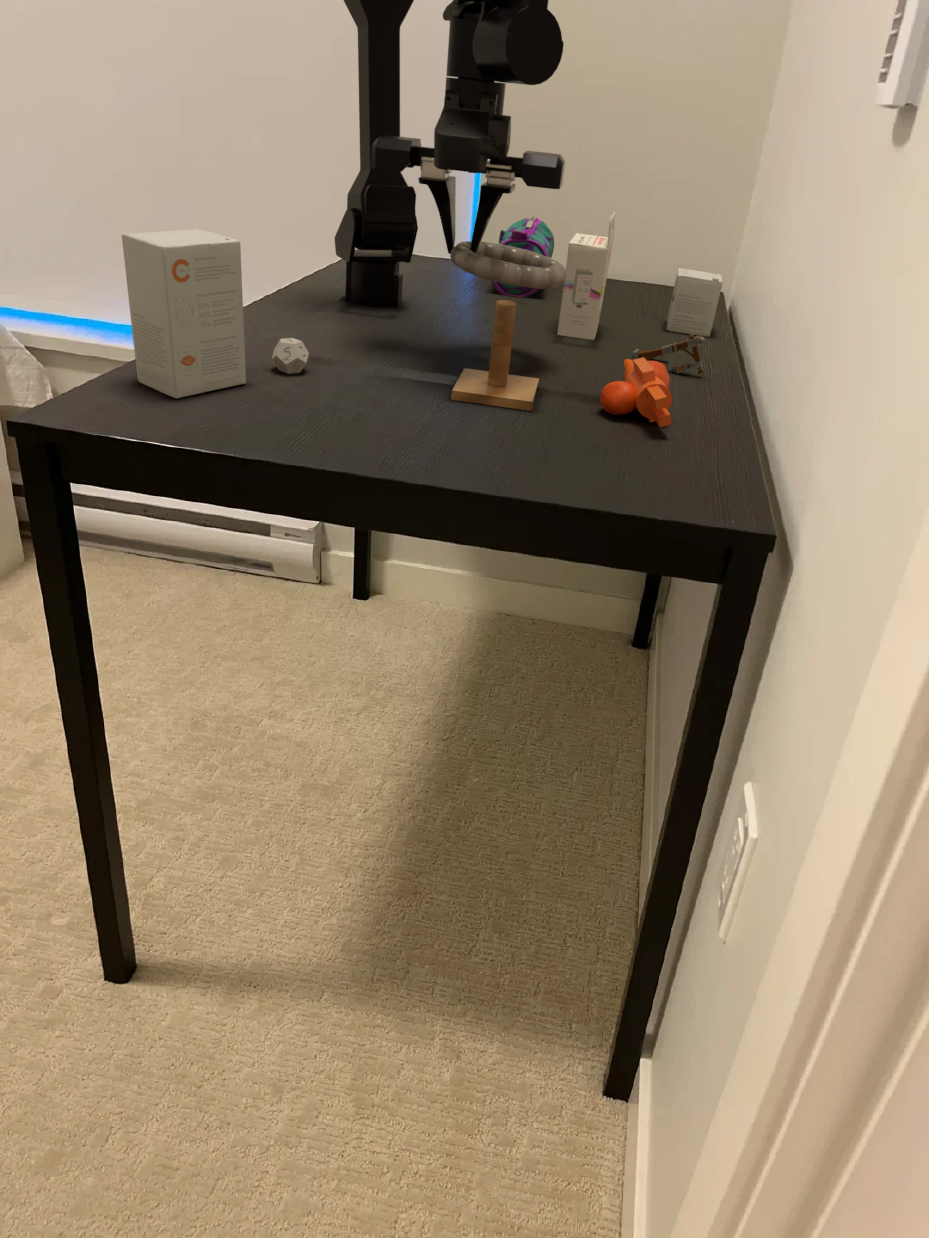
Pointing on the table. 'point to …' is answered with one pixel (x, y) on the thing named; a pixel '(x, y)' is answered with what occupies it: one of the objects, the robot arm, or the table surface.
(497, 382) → the wooden peg stand
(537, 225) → the pencil case
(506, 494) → the table surface
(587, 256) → the ink cartridge box
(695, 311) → the white cardboard box
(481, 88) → the robot arm
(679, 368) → the wooden post with brackets
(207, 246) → the small box
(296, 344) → the game die
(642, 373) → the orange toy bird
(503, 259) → the gray segmented ring
